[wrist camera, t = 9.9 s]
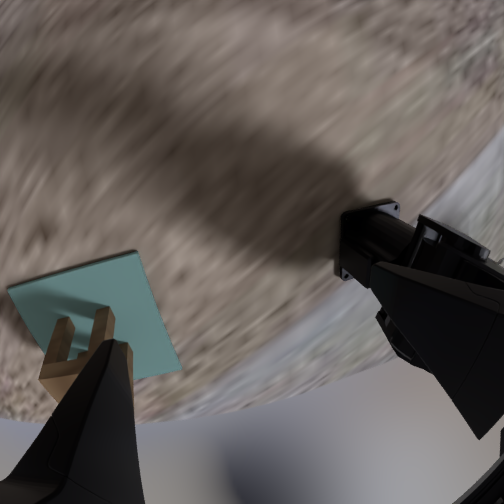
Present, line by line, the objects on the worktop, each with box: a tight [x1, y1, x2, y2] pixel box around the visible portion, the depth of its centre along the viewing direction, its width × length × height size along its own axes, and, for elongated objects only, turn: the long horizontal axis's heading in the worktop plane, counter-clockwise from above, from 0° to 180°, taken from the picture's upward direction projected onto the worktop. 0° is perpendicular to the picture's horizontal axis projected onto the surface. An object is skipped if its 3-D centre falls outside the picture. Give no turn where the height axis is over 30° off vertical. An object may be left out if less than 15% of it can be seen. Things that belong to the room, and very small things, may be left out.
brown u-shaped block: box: [38, 306, 134, 406], centre depth 18 cm, size 5×5×7 cm
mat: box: [7, 251, 182, 380], centre depth 21 cm, size 12×12×1 cm
